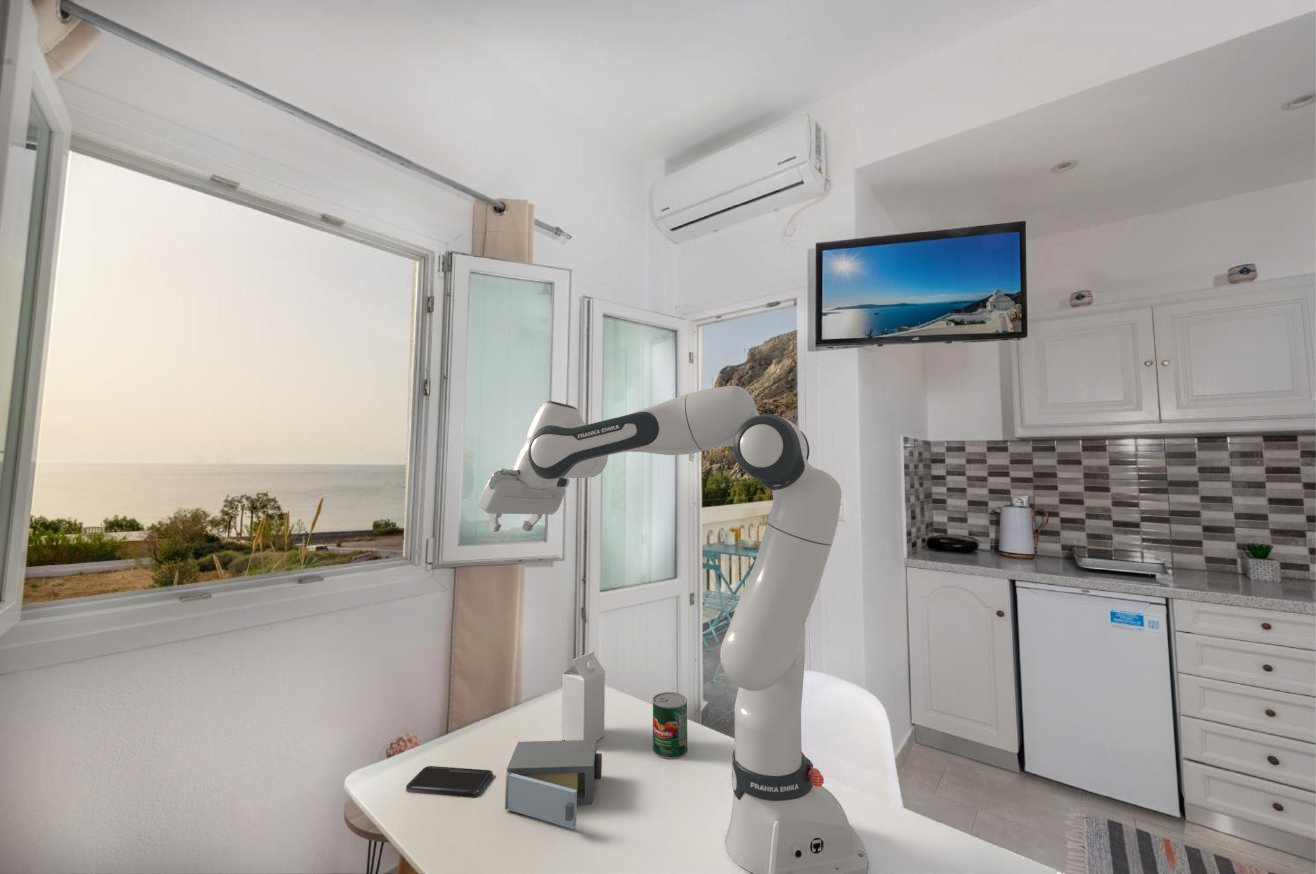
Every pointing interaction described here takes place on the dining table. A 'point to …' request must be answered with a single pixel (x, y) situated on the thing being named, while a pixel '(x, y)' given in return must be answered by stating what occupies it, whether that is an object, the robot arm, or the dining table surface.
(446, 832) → the dining table surface
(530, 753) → the box
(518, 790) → the side door
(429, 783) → the phone
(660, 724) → the canned tomato
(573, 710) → the milk carton
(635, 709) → the dining table surface
